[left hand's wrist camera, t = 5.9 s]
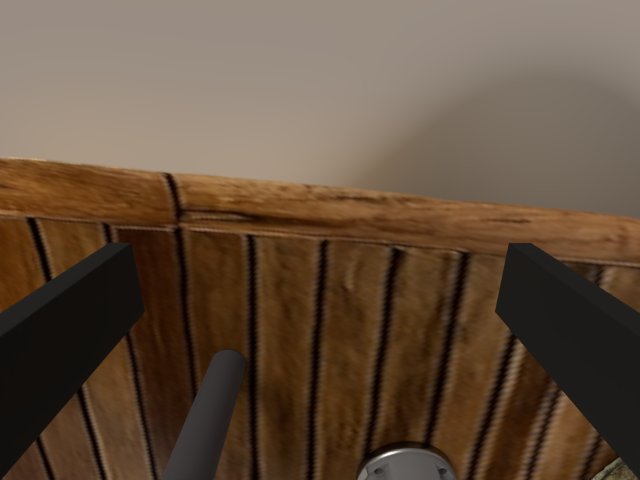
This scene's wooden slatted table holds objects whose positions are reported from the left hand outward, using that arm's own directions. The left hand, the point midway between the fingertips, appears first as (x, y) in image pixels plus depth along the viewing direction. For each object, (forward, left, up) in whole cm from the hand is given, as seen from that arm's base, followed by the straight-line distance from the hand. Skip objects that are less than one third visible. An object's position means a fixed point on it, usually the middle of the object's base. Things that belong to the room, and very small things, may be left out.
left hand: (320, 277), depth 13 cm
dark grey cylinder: (-27, +12, -28) cm, 41 cm away
